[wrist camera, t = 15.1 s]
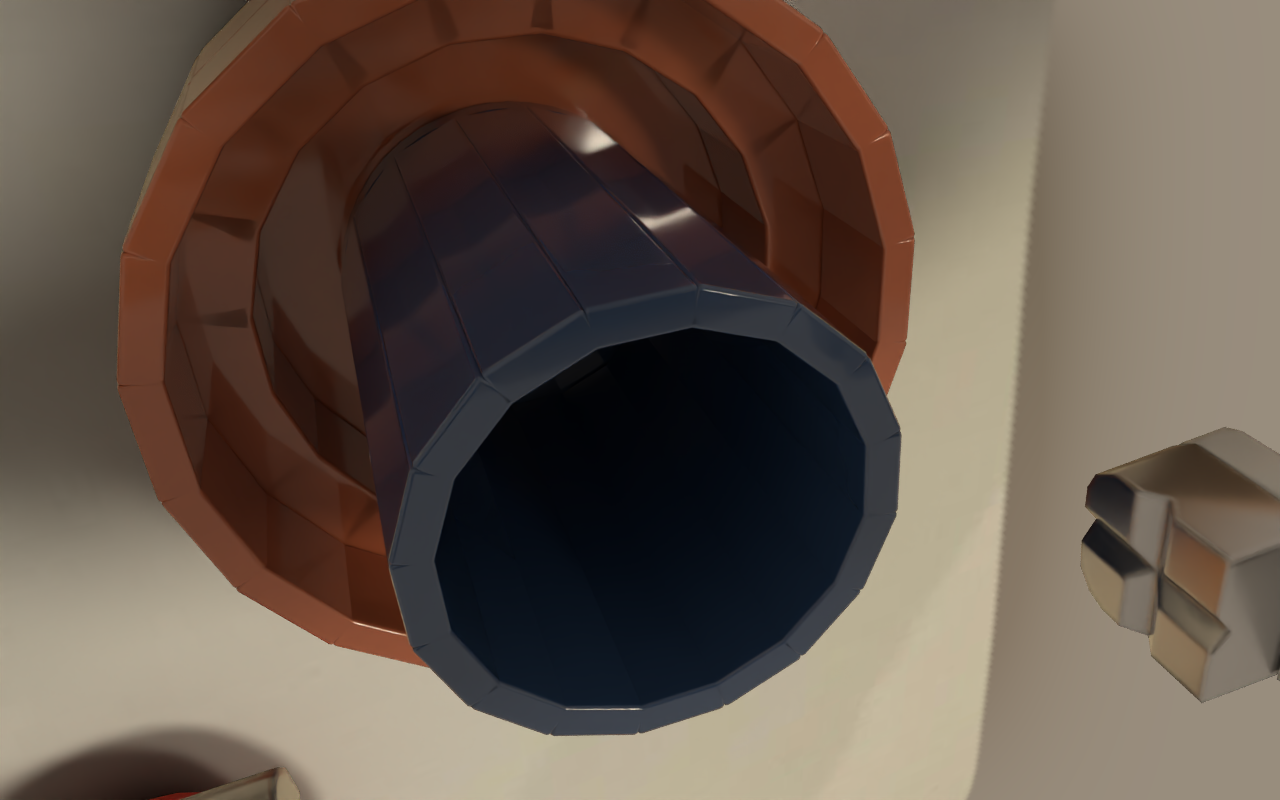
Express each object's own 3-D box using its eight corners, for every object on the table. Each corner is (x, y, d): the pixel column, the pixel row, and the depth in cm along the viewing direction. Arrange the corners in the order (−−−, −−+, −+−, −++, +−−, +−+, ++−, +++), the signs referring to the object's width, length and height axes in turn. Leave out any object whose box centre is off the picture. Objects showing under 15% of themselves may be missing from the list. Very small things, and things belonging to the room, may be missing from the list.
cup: (267, 223, 18) (269, 510, 10) (569, 32, 18) (792, 176, 10) (460, 462, 21) (569, 809, 14) (713, 301, 21) (959, 558, 14)
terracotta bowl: (512, -277, 16) (600, -316, 12) (885, 242, 22) (1026, 335, 18) (-10, 262, 17) (-100, 400, 13) (489, 602, 24) (537, 765, 20)
